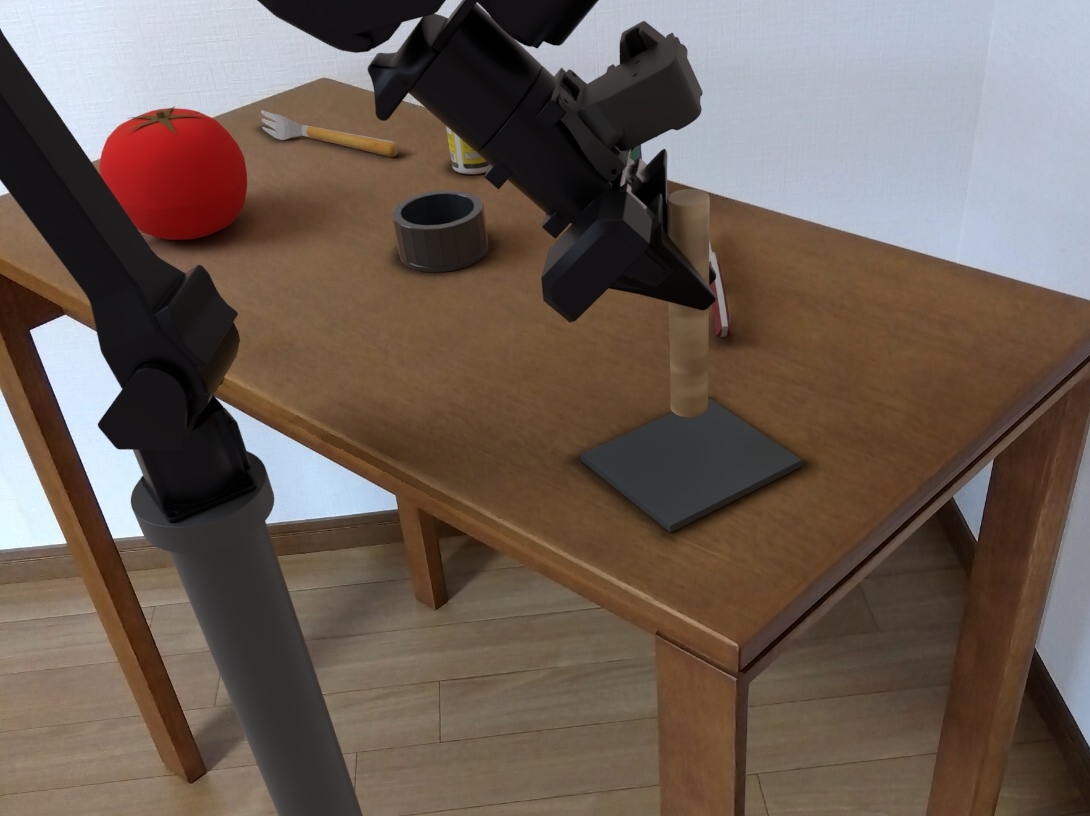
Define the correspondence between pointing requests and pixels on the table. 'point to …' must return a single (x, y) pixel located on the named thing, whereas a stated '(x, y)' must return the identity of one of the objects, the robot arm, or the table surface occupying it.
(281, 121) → the fork
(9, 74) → the robot arm
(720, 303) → the knife
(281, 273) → the table surface
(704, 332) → the muddler
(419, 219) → the cup
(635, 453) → the mat
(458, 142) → the supplement bottle
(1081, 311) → the table surface
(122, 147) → the tomato
